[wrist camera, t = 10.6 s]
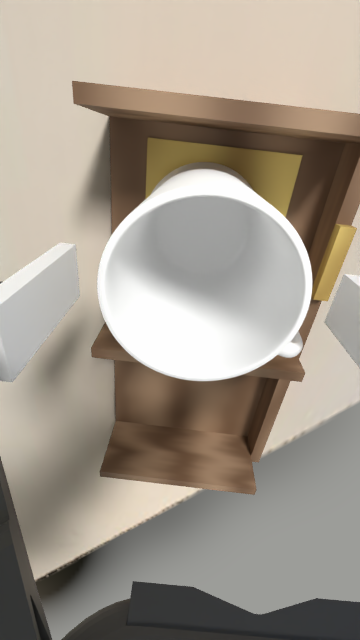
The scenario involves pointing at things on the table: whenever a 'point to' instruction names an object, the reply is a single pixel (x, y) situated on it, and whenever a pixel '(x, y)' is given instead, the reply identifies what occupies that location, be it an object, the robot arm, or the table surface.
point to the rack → (284, 195)
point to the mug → (205, 278)
